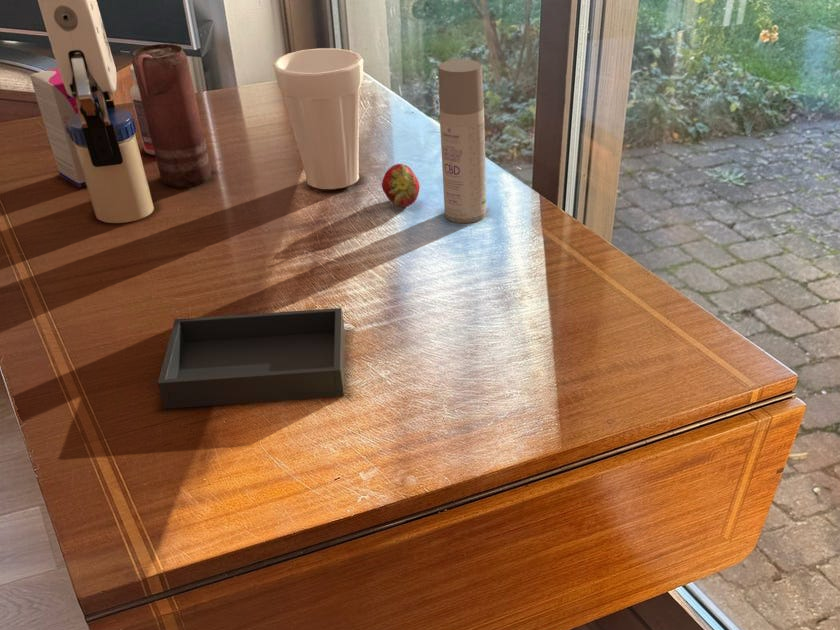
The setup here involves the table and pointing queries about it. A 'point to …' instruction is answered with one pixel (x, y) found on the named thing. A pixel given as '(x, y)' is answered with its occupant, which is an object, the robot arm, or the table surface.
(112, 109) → the lid
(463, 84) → the container
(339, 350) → the tray
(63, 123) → the supplement box
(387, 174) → the fruit
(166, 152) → the can
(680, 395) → the table surface
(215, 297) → the table surface
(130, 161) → the jar
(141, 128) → the pill bottle
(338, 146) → the cup
